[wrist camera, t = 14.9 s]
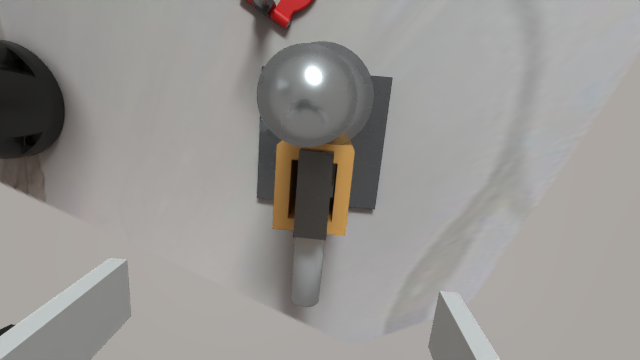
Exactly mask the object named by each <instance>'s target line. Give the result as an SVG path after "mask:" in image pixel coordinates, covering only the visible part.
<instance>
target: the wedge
mask: <svg viewBox="0 0 640 360" xmlns="http://www.w3.org/2000/svg"><path fill="white" fill-rule="evenodd" d="M333 162H334V151H330V150H319V149H308V148H301V149H300V150H299V160H298V174H297V189H296V203H295V217H294V232H293V237H298V238H308V239H318V240H326V234H327V223H328V213H329V203H330V193H331V182H332V172H333Z"/></svg>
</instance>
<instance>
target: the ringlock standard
mask: <svg viewBox="0 0 640 360" xmlns="http://www.w3.org/2000/svg"><path fill="white" fill-rule="evenodd" d="M391 85H392V77H381V76H370V74H369V72H368V70H367V67H366V66H365V65H364V63H363V62H362V60H361V59H360V58H359V57H358V56H357V55H356V54H355V53H353V52H352V51H351V50H349V49H348V48H346V47H344V46H342V45H339V44H336V43H332V42H312V43H302V44H296V45H292V46H289V47H287V48H284V49H283V50H281V51H279V52H278V53H277V54H276V55H274V56H273V57H272V58H271V59H270V60H269V61H268V63H267V64H266V66H265V67H264V66H262V73H261V75H260V78H259V82H258V86H257V103H258V108H259V111H260V136H259V161H258V187H257V198H263V199H273V200H274V189H275V170H276V151H277V144H278V143H280V142H281V141H282V140H283V141H284V142H287V143H289V144H291V145H295V146H299V147H317V146H321V145H324V144H334V145H342V144H344V143H346V142H348V141H349V140H351V142H352V145H353V148H354V151H355V154H354V163H353V172H352V180H351V189H350V198H349V207H357V208H367V209H375V204H376V197H377V189H378V182H379V175H380V167H381V160H382V152H383V145H384V137H385V130H386V122H387V115H388V107H389V100H390V93H391ZM335 169H336V163H333V172H332V182H331V193H330V197H333V189H334V179H335Z"/></svg>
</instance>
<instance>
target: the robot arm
mask: <svg viewBox="0 0 640 360" xmlns="http://www.w3.org/2000/svg"><path fill="white" fill-rule="evenodd" d="M63 119H64V104H63V99H62V95H61V91H60V88H59V86H58V84H57V82H56V80H55V78H54V76H53V74H52V73H51V71H50V70H49V69H48V67H47V66H46V65H45V64H44V63H43V62H42V61H41V60H40V59H39V58H38V57H37V56H36V55H35V54H33V53H32V52H31V51H29V50H28V49H26V48H24V47H22V46H20V45H18V44H16V43H13V42H10V41H5V40H0V158H1V159H13V158H20V157H25V156H30V155H35V154H37V153H40V152H42V151H44V150H45V149H47V148H48V147H49V146H50V145H51V144H52V143H53V142H54V141H55V140H56V138H57V137H58V135H59V133H60V131H61V128H62V124H63ZM130 317H131V307H130V292H129V278H128V265H127V260H125V259H115V258H109V259H107V260H106V261H104V262H103V263H102V264H100V265H99V266H98V267H96V268H95V269H93V270H92V271H90V272H89V273H88V274H86V275H85V276H83V277H82V278H81V279H79V280H78V281H77V282H75V283H74V284H72V285H71V286H70V287H68V288H67V289H65V290H64V291H63V292H61V293H60V294H58V295H57V296H55V297H54V298H53V299H51V300H50V301H49V302H47V303H46V304H44V305H43V306H42V307H40V308H39V309H37V310H36V311H35V312H33V313H32V314H30V315H29V316H28V317H26V318H25V319H23V320H22V321H21V322H19V323H18V324H16V325H12V324H11V325H9V326H7V327H5V328H3V329H1V330H0V360H91V359H92V357H93V356H94V355H95V354H96V353H97V352H98V351H99V350H100V349H101V348H102V346H104V345H105V343H106V342H107V341H108V340H109V339H110V338H111V337H112V336H113V335H114V334H115V333H116V331H118V330H119V328H120V327H121V326H122V325H123V324H124V323H125V322H126V321H127V320H128V319H129V318H130ZM429 350H430V352H431V355H432V358H433V360H500V359H499V357H498V356H497V354H496V352H495V351H494V349H493V348H492V346H491V344H490V343H489V341H488V340H487V338H486V336H485V335H484V333H483V332H482V330H481V328H480V327H479V325H478V324H477V322H476V320H475V319H474V317H473V316H472V314H471V313H470V311H469V309H468V308H467V306H466V305H465V303H464V301H463V300H462V298H461V297H460V295H459V293H456V292H446V291H439V296H438V301H437V306H436V311H435V316H434V321H433V326H432V331H431V336H430V341H429Z"/></svg>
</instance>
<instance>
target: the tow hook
mask: <svg viewBox="0 0 640 360" xmlns="http://www.w3.org/2000/svg"><path fill="white" fill-rule="evenodd" d="M247 1H249V2H250V3H251V4H253V5H254V6H255V8H257V9H258V10H259V11H261V12H262V13H263V14H265V15H266V16H267V17H269V18H271V19H273V20H274V21H275V22H277V23H278V24H279V25H281V26H282V27H283V28H285V29H286V28H287V27H288V26H289V25H290V23H291V20H292V19H291V17H292V16H293V14H294V13H296V12H299V11H301V10H303V9H305V8H306V7H308V6H309V5H310V4H311V3H312V2H313V1H314V0H281V1H280V2H279V4H278V5H277V7H276V4H275V2H274V1H273V0H247Z"/></svg>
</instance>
